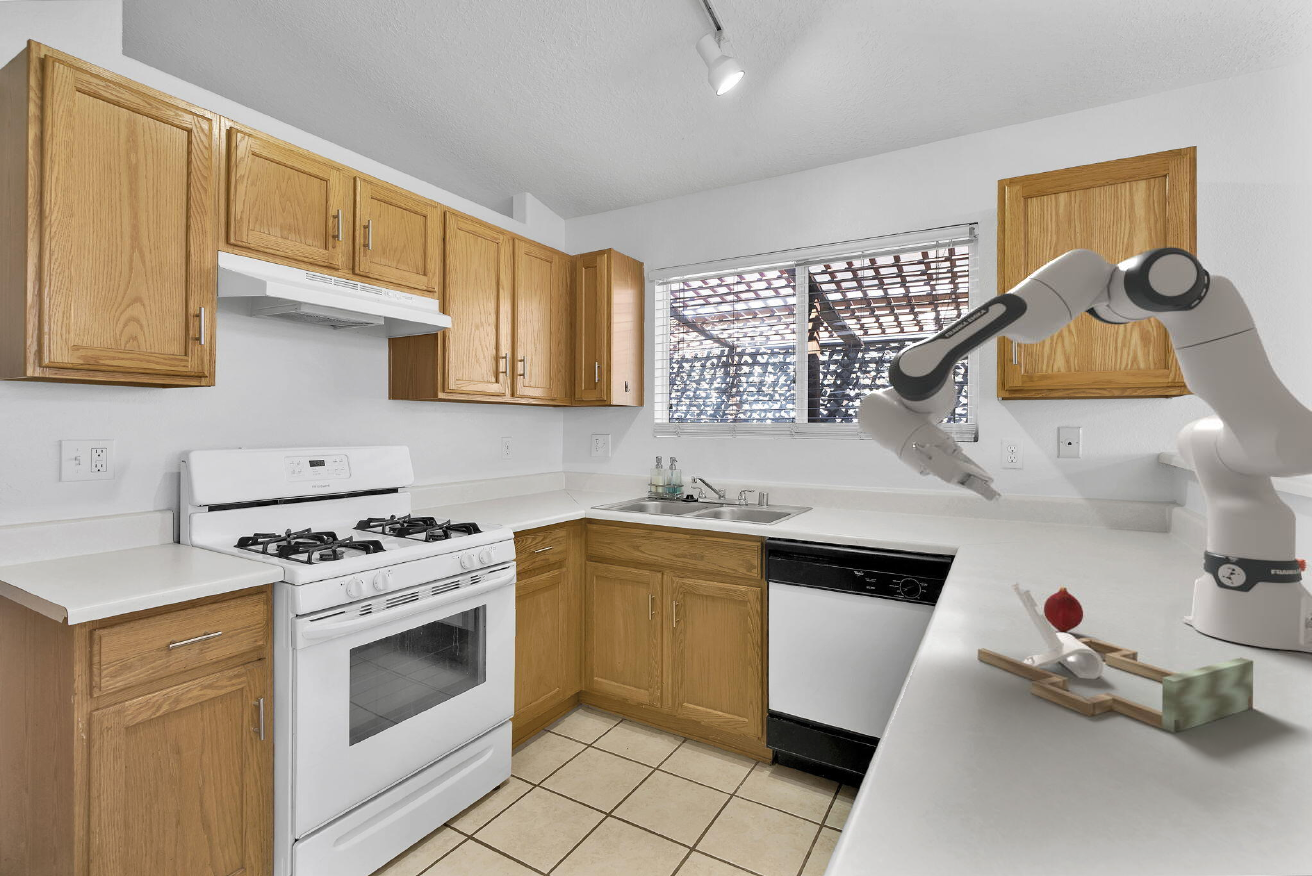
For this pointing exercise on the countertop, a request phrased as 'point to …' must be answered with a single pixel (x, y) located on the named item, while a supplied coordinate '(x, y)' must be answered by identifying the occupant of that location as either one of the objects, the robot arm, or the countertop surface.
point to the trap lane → (1182, 694)
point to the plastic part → (1060, 644)
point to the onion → (1063, 610)
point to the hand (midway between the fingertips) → (996, 498)
